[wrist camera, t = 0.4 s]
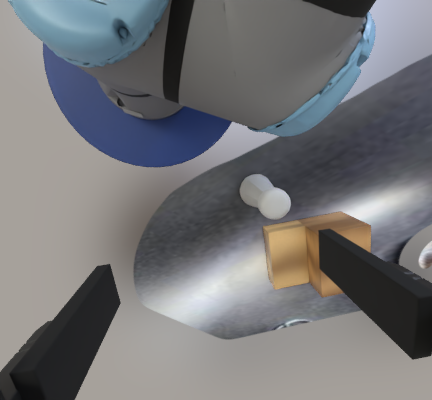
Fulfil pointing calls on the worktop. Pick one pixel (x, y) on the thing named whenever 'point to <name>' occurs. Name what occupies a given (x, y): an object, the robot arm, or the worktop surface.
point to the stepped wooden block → (308, 249)
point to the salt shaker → (265, 196)
